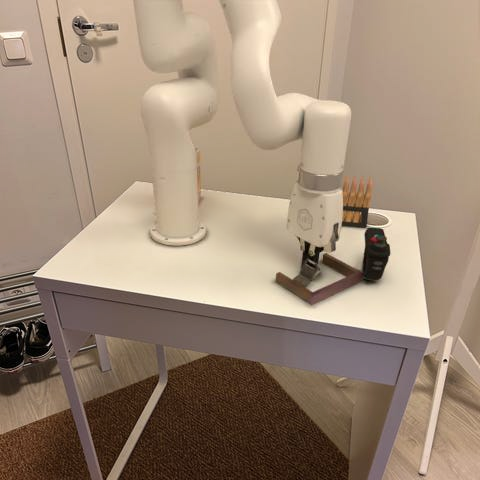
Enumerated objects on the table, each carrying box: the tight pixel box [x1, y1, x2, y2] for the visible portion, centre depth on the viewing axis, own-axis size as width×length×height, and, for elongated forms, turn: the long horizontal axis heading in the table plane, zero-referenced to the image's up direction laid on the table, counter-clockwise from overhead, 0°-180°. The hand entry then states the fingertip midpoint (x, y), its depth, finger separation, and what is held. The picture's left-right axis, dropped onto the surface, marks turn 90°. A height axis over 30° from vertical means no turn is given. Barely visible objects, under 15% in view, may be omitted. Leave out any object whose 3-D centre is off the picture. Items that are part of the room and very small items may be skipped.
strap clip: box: [291, 259, 322, 288], centre depth 91 cm, size 8×3×4 cm, turn 146°
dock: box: [275, 252, 364, 306], centre depth 92 cm, size 10×14×2 cm
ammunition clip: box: [340, 175, 373, 229], centre depth 110 cm, size 11×2×12 cm, turn 81°
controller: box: [361, 227, 392, 282], centre depth 92 cm, size 4×12×10 cm, turn 171°
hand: (309, 269), depth 93 cm, fingers closed
